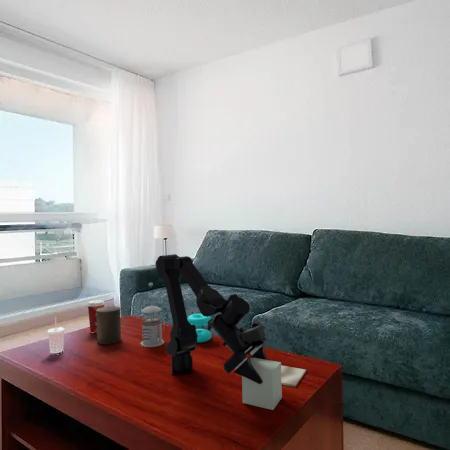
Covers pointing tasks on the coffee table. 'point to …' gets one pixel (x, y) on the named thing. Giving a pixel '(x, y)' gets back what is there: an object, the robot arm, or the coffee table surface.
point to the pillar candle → (108, 325)
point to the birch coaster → (291, 375)
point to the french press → (152, 327)
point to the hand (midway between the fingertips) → (266, 377)
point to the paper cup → (94, 313)
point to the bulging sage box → (263, 384)
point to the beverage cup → (56, 338)
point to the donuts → (200, 321)
